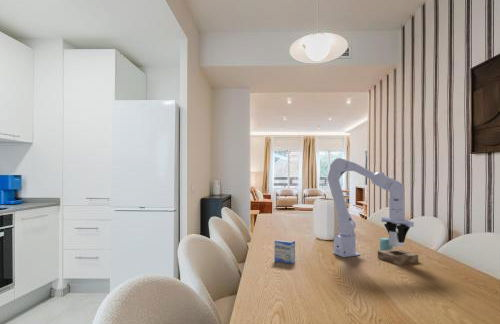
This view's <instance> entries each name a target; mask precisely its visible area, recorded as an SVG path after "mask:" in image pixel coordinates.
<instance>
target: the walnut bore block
mask: <svg viewBox="0 0 500 324" xmlns="http://www.w3.org/2000/svg"><path fill="white" fill-rule="evenodd" d="M377 259H379V260H382V261H386V262H388V263H392V264H394V265H398V266H403V265H409V264H414V263H419V254H416V253H413V252H410V251H406V250H402V249H398V248H393V249H390V250H383V251H380V250H378V251H377Z"/></svg>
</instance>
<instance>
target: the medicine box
mask: <svg viewBox="0 0 500 324" xmlns="http://www.w3.org/2000/svg"><path fill="white" fill-rule="evenodd" d="M273 247H274V248H273V249H274V257H273V258H274V259H273V261H274V262H276V263H282V264H291V265H292V264H294V263H295V262H296V241H295V240H289V239H288V240H286V239H276V240H274V246H273Z"/></svg>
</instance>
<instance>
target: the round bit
mask: <svg viewBox="0 0 500 324" xmlns="http://www.w3.org/2000/svg"><path fill="white" fill-rule="evenodd" d="M390 249H394V246H391V245H389V237H379V251H383V250H390Z"/></svg>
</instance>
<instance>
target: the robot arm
mask: <svg viewBox="0 0 500 324" xmlns="http://www.w3.org/2000/svg"><path fill="white" fill-rule="evenodd" d="M346 172H355V173H357V174H360V175H362V176H364V177H366V178H368V179H370V181H371V184H373V185H375V186H376V187H379V188H381V189H383V190H385V191H388V193H389V198H388V211H389V213H388V215H389V217H386V216H384V217H381V222H382V223H384V224H383V226H384V227H385V229H386V231H387V233H388V234H389V231H393V230H397V231H398V233H399V242H400V243H403V242H404V243H405V240H406V237H407V234H408V232H409V230H410V228H413V227H414V223H415V222H414V221H411V220H406V219H405V199H404V194H403V193H404V190H405V188H404V184H402V183H401V182H400V181H399V180H396V178H394V177H392V178H391V177H389V176H388V175H386V174H385V173H384V172H380V171H377V172H372V171H371V170H369V169H367V168H365V167H364V166H362V165H361V164H357V163H356V162H355V161H354V162H353V161H350V160H347V159H345V158H341V157H340V158H339V157H337V158H335V159H334V160H333V161H332V162H331V164H330V167H329V172H328V174H327V181H328V186H329V189H330V192H331V195H332V199H333V203H334V205H335V206H334V207H335V209H336V213H337V220H338V231H339V232H338V235H335V236H334V237H333V251H332V254H333V255H337V256H340V257H342V258H349V257H350V258H351V257H354V256H361V254H360V253H359V252H356V251H357V250H356V249H357V248H356V246H357V245H356V244H357V243H356V242H357V241H356V233H355V231H354V230H355V229H356V223H355V221H354V220H353V218H352V216H351V213H350V212H349V209H348V205H347V203H346V200H345V196H344V193H343V188H342V187H341V186H342V185H341V183H340V178H341V177H342V176H343V174H344V173H346Z"/></svg>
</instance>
